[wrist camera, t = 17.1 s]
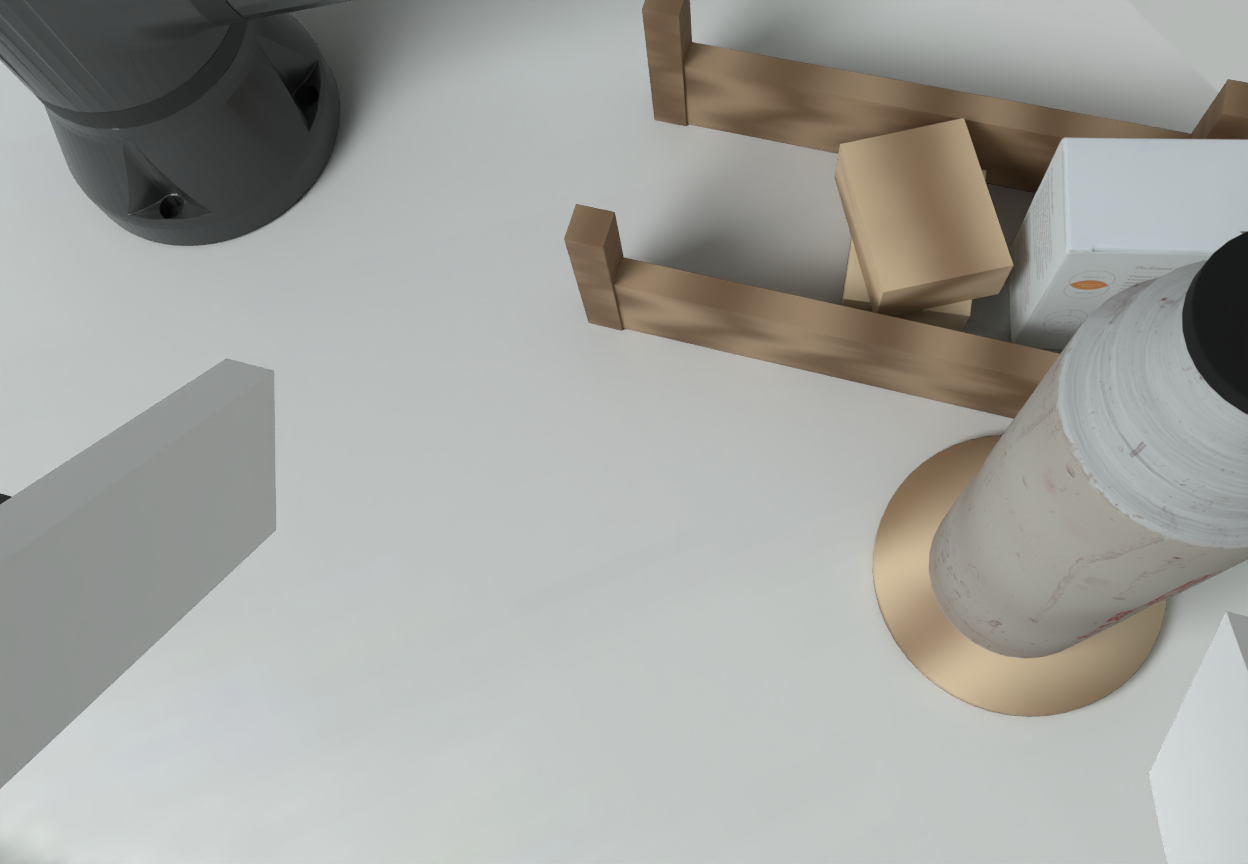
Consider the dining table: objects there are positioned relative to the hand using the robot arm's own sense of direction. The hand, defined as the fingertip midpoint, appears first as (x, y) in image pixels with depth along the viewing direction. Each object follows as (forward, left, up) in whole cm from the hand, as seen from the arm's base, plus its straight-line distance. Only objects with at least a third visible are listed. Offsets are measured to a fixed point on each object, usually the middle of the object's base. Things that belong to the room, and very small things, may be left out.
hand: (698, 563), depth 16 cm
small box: (-2, +28, -38) cm, 47 cm away
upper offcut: (-10, +24, -35) cm, 44 cm away
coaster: (+4, +15, -38) cm, 41 cm away
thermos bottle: (+4, +15, -37) cm, 40 cm away
